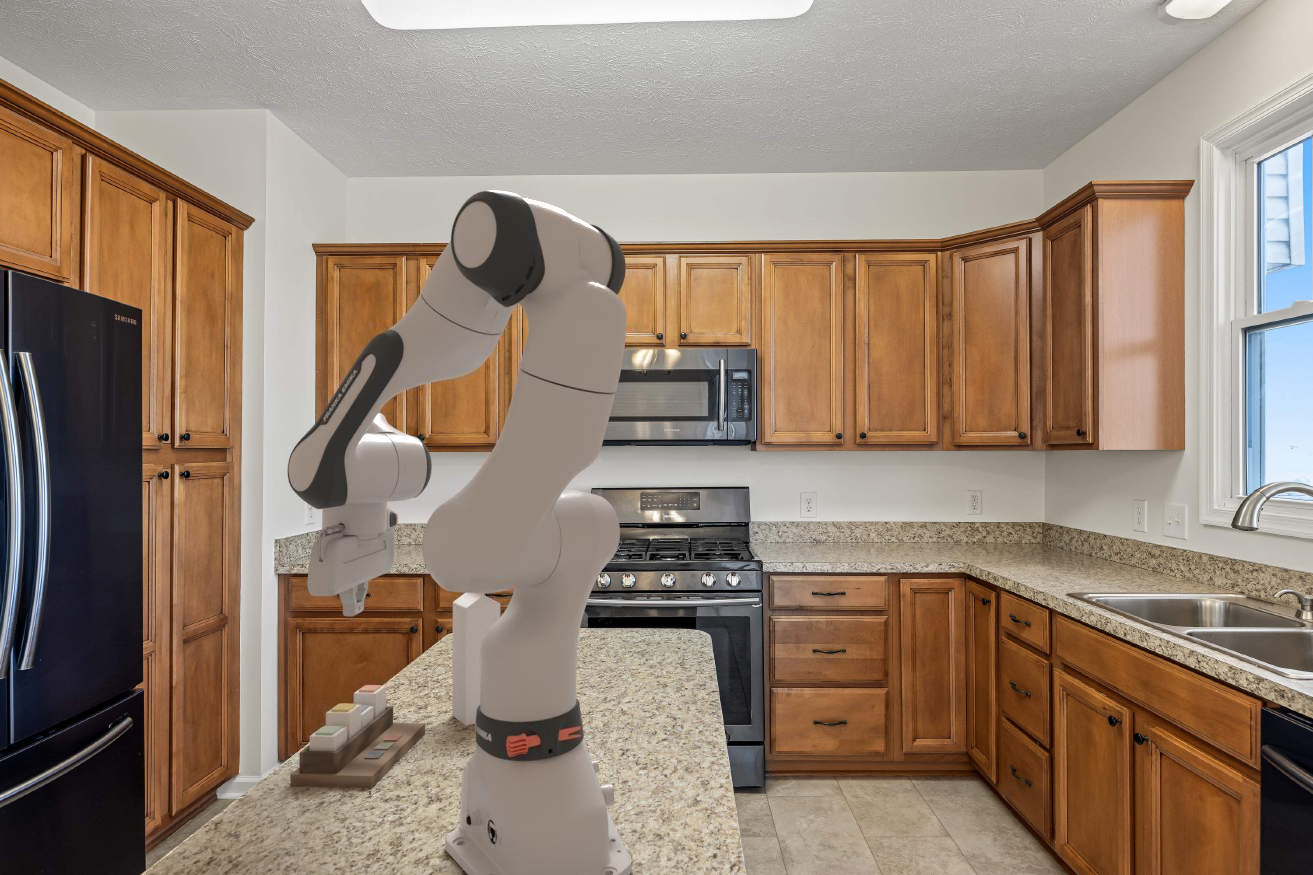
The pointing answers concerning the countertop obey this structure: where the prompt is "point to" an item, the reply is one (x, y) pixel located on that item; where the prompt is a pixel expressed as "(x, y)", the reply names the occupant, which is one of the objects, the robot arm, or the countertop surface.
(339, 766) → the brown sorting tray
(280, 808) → the countertop surface
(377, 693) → the key terracotta
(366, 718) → the key slate
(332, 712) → the key mustard
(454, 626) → the milk
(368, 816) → the countertop surface
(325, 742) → the key sage
